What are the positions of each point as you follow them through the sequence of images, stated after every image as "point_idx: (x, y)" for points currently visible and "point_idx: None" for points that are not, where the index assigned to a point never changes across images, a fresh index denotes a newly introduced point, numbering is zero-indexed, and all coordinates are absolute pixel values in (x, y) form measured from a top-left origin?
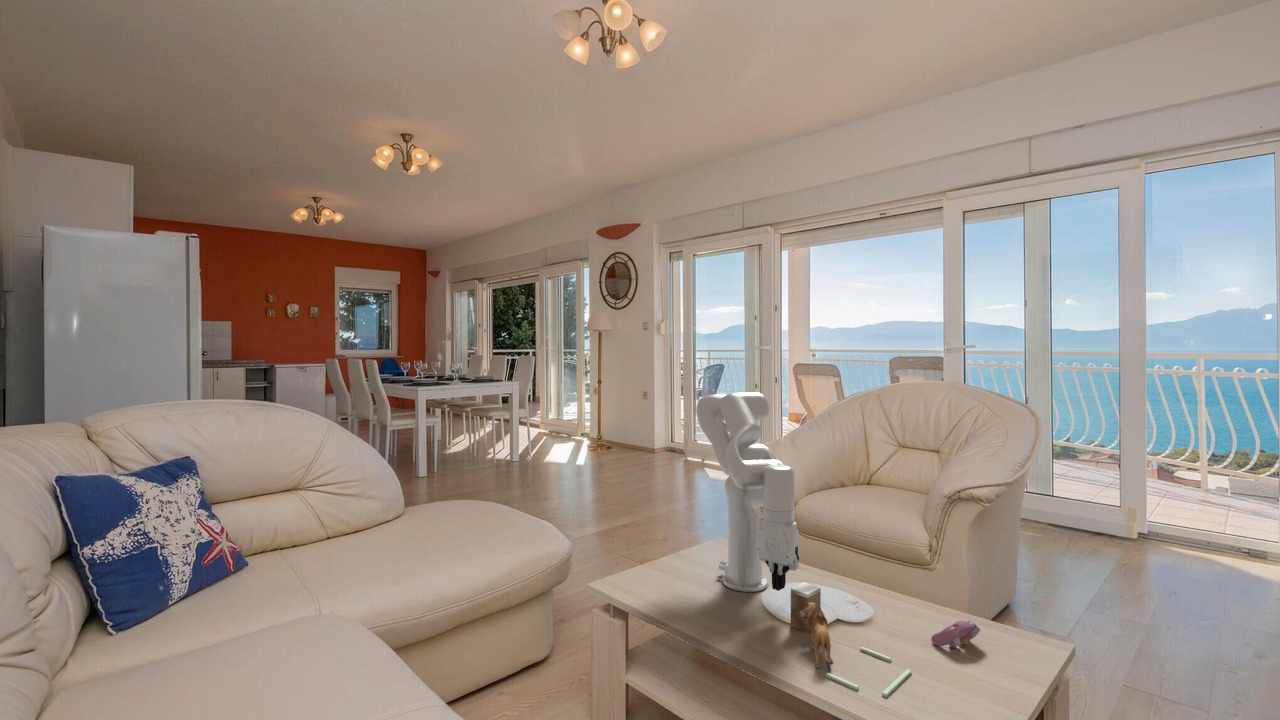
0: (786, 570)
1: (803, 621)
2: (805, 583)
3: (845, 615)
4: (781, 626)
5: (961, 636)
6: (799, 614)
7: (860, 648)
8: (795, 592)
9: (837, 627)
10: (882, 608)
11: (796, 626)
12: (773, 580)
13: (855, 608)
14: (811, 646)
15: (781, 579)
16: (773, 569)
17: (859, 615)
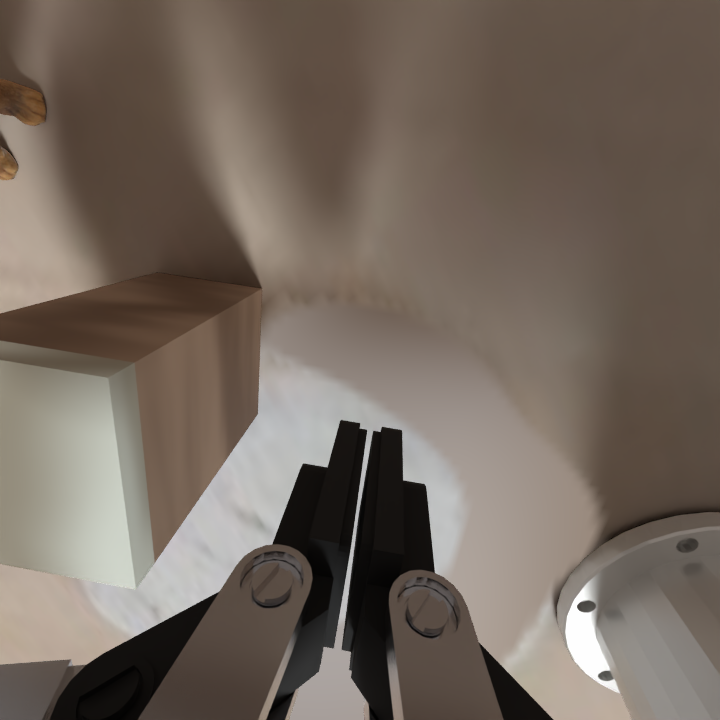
0: (140, 644)
1: (147, 286)
2: (106, 570)
3: None
4: (298, 251)
5: None
6: (155, 299)
7: None
8: (65, 358)
9: None
10: (89, 636)
11: (219, 285)
12: (384, 481)
13: (151, 598)
14: (12, 84)
15: (289, 517)
16: (391, 625)
17: None
